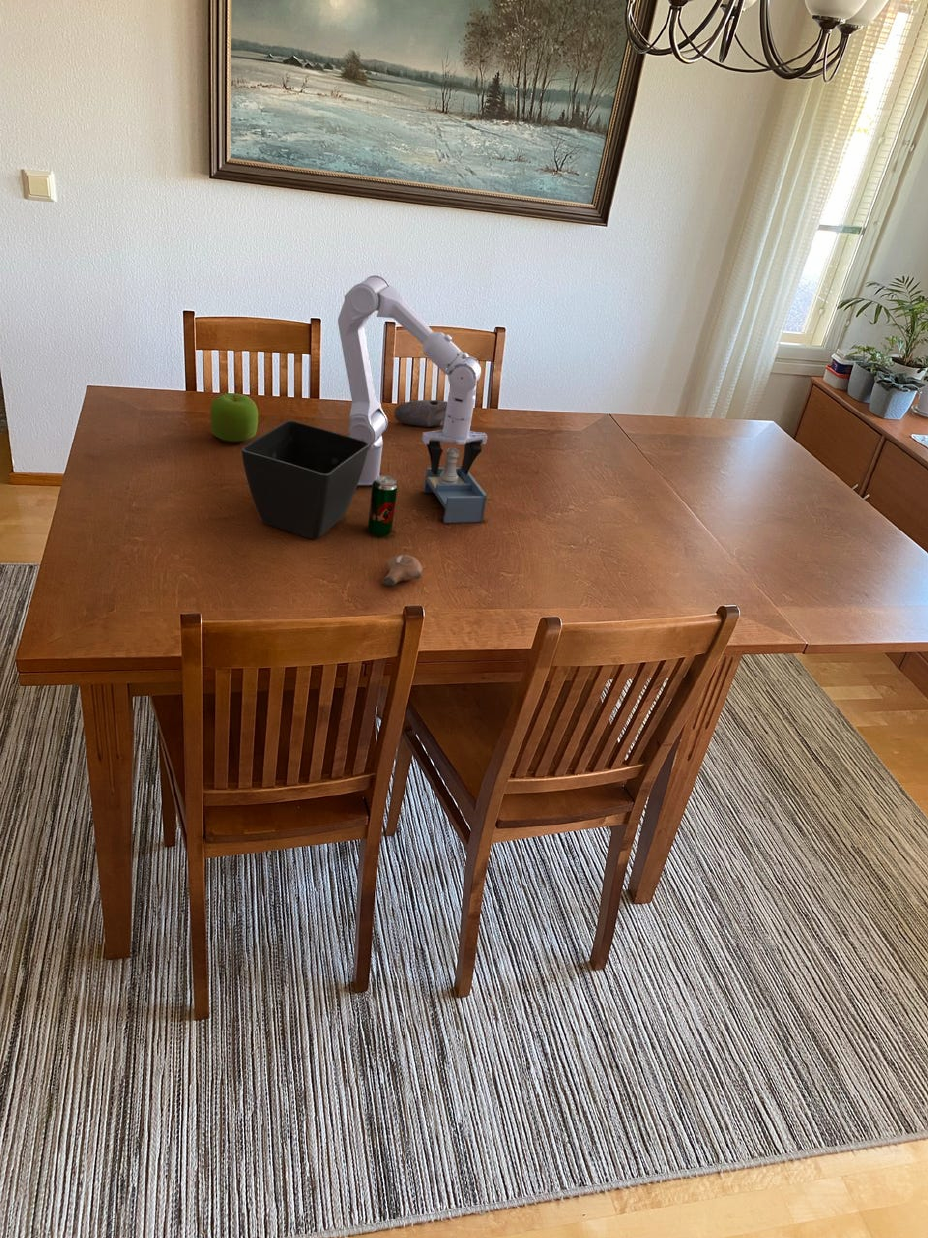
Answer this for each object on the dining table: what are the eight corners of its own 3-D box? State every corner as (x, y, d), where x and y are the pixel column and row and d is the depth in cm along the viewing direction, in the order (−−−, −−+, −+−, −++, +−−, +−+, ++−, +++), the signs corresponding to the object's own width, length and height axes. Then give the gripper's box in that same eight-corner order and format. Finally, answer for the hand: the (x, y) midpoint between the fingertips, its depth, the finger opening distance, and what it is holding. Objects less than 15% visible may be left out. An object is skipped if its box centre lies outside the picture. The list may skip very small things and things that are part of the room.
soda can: (395, 531, 187) (402, 479, 180) (384, 540, 183) (390, 488, 176) (375, 523, 188) (380, 472, 182) (362, 532, 184) (368, 480, 178)
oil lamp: (371, 572, 174) (385, 595, 168) (371, 555, 171) (384, 577, 165) (414, 564, 177) (429, 586, 171) (414, 547, 174) (429, 568, 168)
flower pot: (237, 524, 179) (238, 447, 170) (285, 490, 194) (288, 417, 185) (321, 553, 175) (327, 475, 166) (363, 516, 190) (371, 443, 181)
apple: (251, 450, 208) (252, 406, 202) (205, 443, 208) (205, 399, 202) (261, 432, 218) (263, 389, 212) (217, 425, 217) (217, 382, 211)
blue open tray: (444, 522, 194) (448, 496, 190) (423, 491, 205) (427, 465, 201) (482, 521, 197) (487, 495, 193) (459, 490, 208) (463, 465, 205)
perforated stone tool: (393, 426, 234) (396, 401, 230) (391, 419, 238) (394, 394, 234) (449, 431, 237) (453, 406, 234) (446, 423, 242) (450, 398, 238)
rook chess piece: (449, 488, 199) (455, 455, 194) (434, 481, 200) (439, 448, 196) (461, 483, 202) (467, 451, 197) (446, 476, 204) (451, 443, 199)
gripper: (432, 422, 187) (424, 480, 194) (496, 422, 192) (485, 480, 199) (422, 408, 192) (414, 466, 199) (484, 410, 197) (474, 466, 205)
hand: (449, 472), depth 200 cm, fingers open, 7 cm apart
